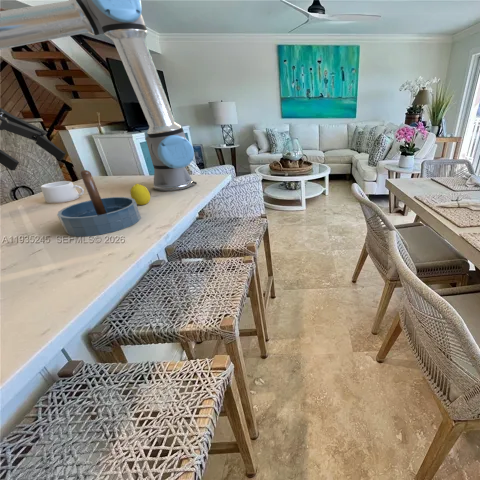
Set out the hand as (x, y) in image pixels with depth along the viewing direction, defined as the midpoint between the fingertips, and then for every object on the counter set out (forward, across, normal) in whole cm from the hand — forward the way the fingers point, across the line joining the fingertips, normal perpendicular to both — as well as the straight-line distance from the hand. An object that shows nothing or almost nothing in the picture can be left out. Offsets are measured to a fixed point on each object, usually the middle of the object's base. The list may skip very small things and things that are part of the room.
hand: (41, 161), depth 69 cm
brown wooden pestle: (+20, 0, -5) cm, 20 cm away
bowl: (+20, 0, -6) cm, 21 cm away
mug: (-1, -26, -28) cm, 38 cm away
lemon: (+22, -17, -5) cm, 28 cm away
